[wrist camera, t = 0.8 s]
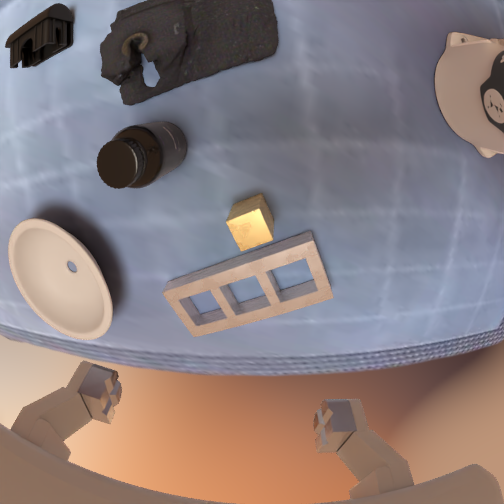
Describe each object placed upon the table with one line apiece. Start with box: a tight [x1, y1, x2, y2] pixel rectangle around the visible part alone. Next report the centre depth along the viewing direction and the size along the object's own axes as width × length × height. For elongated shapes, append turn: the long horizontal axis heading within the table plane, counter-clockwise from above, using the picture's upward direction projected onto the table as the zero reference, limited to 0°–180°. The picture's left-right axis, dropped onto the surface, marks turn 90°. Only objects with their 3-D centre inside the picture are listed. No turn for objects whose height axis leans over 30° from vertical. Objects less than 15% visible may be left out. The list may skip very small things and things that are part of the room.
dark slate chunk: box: [100, 0, 278, 105], centre depth 25 cm, size 15×22×5 cm
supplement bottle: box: [97, 122, 186, 189], centre depth 29 cm, size 7×7×12 cm
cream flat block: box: [162, 231, 334, 337], centre depth 42 cm, size 23×10×3 cm, turn 114°
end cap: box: [5, 3, 73, 68], centre depth 23 cm, size 10×7×7 cm
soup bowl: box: [8, 218, 113, 340], centre depth 42 cm, size 24×24×7 cm
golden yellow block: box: [226, 193, 274, 251], centre depth 35 cm, size 4×4×6 cm
